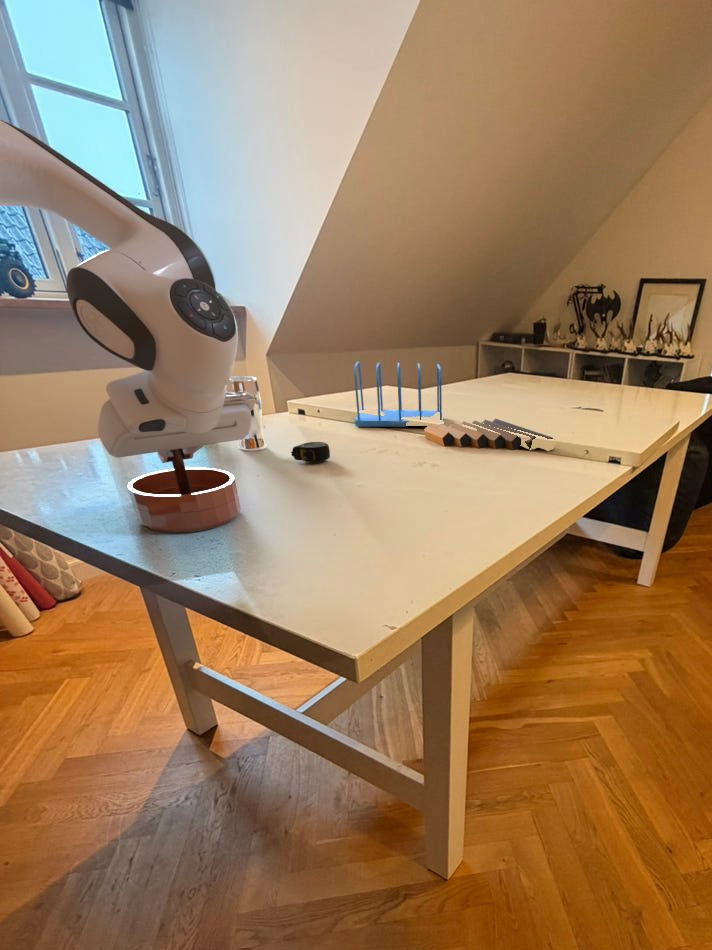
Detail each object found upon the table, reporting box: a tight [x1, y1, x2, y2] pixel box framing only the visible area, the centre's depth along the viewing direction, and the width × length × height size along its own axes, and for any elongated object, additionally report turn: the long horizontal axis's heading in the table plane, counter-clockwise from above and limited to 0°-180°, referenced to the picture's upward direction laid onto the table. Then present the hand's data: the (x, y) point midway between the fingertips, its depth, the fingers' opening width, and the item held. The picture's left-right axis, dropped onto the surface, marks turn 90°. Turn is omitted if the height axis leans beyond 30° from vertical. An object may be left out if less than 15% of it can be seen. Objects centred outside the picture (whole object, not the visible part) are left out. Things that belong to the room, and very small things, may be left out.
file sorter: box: [353, 361, 443, 428], centre depth 155 cm, size 25×17×15 cm
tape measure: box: [290, 441, 331, 463], centre depth 119 cm, size 7×7×4 cm
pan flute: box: [423, 418, 554, 451], centre depth 140 cm, size 25×3×25 cm
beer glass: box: [225, 375, 268, 452], centre depth 124 cm, size 7×7×15 cm
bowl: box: [127, 467, 242, 534], centre depth 87 cm, size 15×15×6 cm
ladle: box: [170, 449, 192, 495], centre depth 84 cm, size 5×5×16 cm
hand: (175, 456), depth 84 cm, fingers closed on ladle, 2 cm apart
